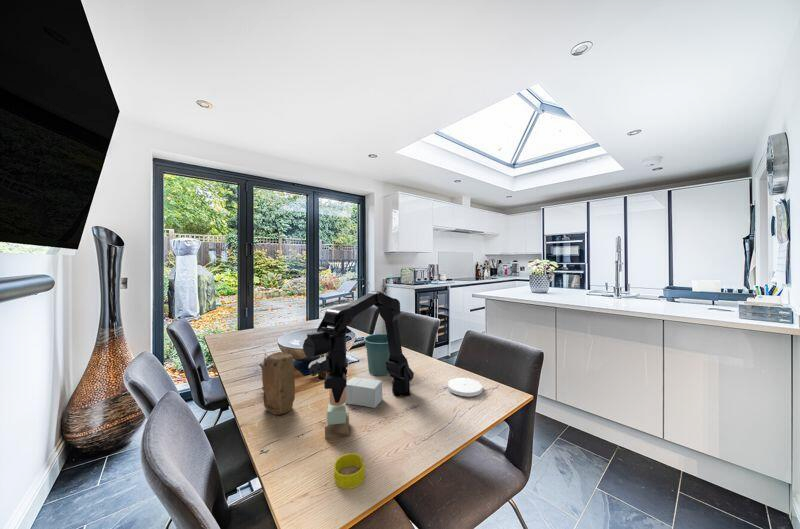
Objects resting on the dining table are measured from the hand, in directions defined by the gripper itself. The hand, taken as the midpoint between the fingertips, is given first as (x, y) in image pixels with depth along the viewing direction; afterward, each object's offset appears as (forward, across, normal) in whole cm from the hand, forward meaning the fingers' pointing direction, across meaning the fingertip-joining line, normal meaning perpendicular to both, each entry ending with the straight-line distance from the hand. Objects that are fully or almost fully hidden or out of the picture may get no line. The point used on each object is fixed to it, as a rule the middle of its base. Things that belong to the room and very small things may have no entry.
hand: (337, 398), depth 91 cm
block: (+10, -17, -22) cm, 30 cm away
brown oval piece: (+1, 0, 0) cm, 1 cm away
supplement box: (+7, -20, +3) cm, 22 cm away
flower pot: (+11, -46, +18) cm, 51 cm away
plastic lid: (+11, -20, +50) cm, 55 cm away
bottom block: (+11, 0, 0) cm, 11 cm away
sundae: (+10, -37, -31) cm, 49 cm away
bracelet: (+11, +20, +4) cm, 23 cm away
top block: (+7, 0, 0) cm, 7 cm away
